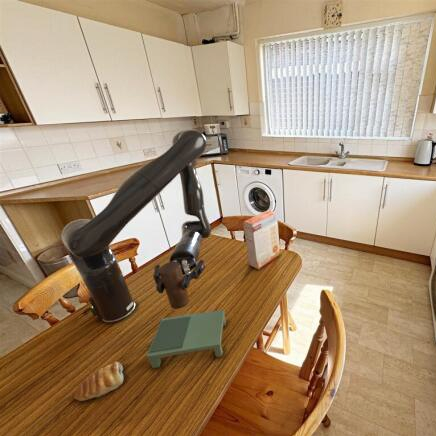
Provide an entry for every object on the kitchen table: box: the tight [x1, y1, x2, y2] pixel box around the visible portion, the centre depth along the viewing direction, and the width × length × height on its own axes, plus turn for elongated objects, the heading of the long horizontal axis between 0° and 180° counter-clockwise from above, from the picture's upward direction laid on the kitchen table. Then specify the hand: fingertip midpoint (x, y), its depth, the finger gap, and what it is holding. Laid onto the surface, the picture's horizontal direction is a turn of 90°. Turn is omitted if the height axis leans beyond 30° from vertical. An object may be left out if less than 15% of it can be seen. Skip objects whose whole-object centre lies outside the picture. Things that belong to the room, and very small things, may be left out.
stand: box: [145, 309, 227, 369], centre depth 67 cm, size 18×12×5 cm, turn 99°
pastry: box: [73, 361, 125, 402], centre depth 57 cm, size 9×7×4 cm
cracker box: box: [242, 209, 281, 270], centre depth 100 cm, size 14×6×21 cm, turn 141°
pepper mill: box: [159, 261, 191, 310], centre depth 64 cm, size 5×5×12 cm
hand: (171, 289), depth 61 cm, fingers closed on pepper mill, 5 cm apart
